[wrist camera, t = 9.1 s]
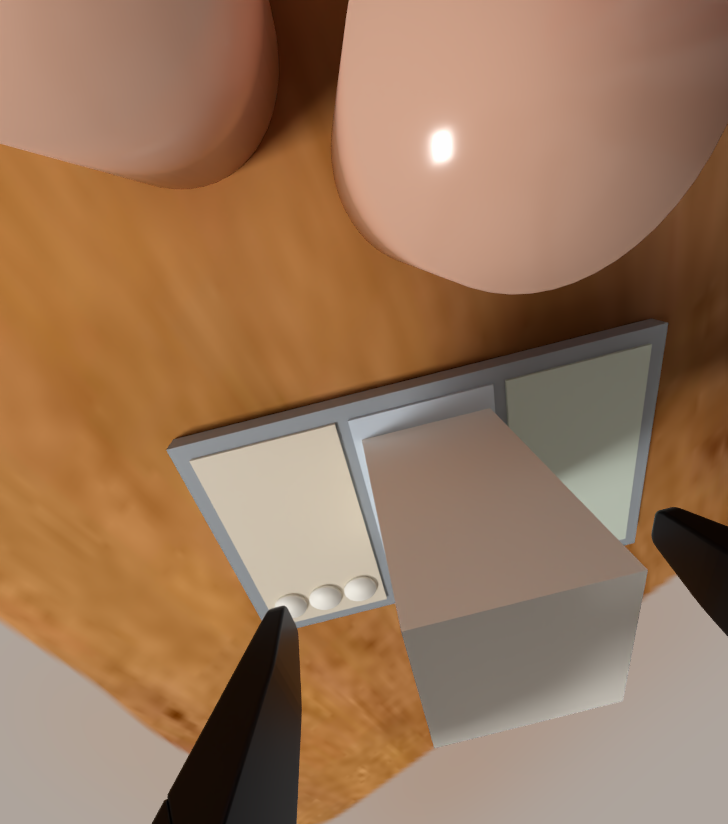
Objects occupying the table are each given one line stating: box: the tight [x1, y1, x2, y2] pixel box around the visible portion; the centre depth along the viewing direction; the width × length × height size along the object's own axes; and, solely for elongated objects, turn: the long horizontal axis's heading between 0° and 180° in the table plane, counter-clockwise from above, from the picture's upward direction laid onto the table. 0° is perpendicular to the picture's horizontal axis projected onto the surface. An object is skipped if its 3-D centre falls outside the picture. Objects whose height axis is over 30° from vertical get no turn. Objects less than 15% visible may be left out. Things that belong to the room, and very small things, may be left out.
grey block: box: [362, 408, 648, 748], centre depth 9 cm, size 4×4×6 cm
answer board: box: [167, 318, 668, 628], centre depth 13 cm, size 15×9×1 cm, turn 103°
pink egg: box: [331, 0, 728, 294], centre depth 7 cm, size 5×5×5 cm
